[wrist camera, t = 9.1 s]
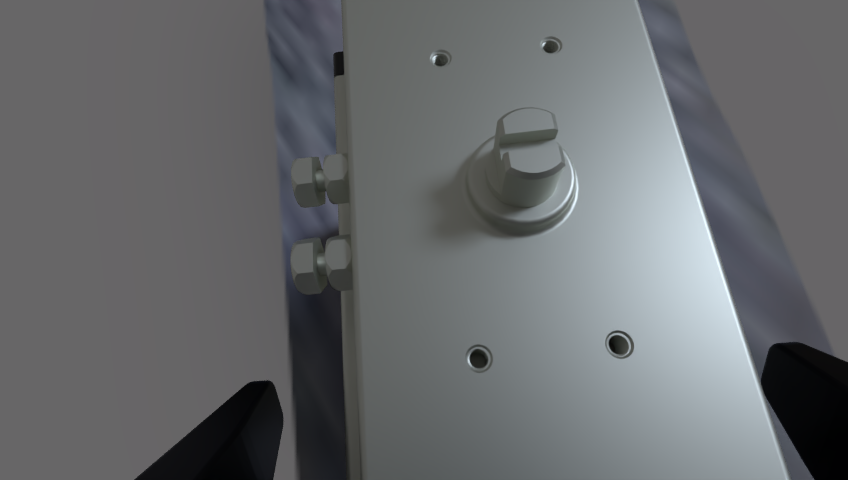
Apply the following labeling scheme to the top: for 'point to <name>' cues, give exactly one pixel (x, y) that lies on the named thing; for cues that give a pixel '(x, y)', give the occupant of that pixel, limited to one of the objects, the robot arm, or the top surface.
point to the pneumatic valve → (524, 254)
